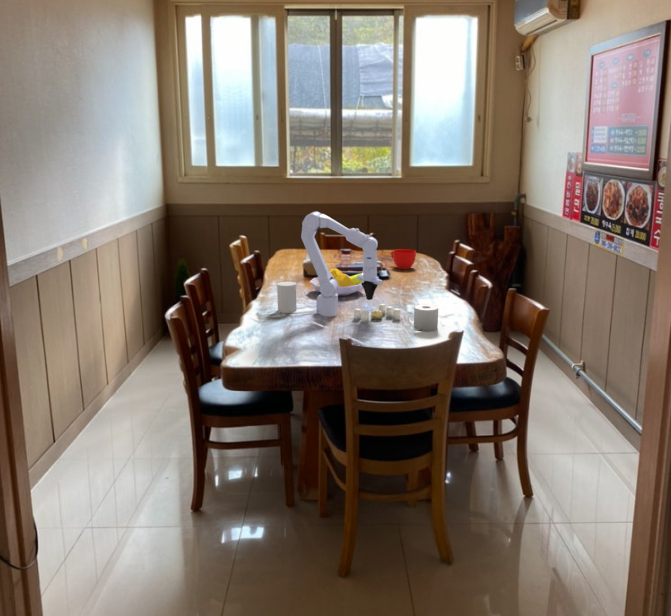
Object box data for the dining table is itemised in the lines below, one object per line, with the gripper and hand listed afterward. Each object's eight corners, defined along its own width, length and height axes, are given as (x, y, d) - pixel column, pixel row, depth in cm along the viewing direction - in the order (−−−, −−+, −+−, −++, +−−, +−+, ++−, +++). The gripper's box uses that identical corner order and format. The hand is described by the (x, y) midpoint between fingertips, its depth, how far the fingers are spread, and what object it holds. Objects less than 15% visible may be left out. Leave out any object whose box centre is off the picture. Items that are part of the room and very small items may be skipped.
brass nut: (368, 318, 266) (368, 311, 266) (377, 316, 269) (377, 309, 268) (375, 320, 263) (375, 313, 262) (384, 319, 265) (384, 311, 264)
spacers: (352, 318, 266) (352, 309, 265) (382, 312, 275) (382, 303, 274) (371, 325, 256) (371, 315, 255) (401, 319, 265) (402, 309, 264)
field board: (350, 320, 266) (350, 318, 266) (382, 314, 276) (382, 312, 276) (370, 327, 256) (370, 325, 256) (402, 320, 266) (402, 319, 265)
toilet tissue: (434, 322, 264) (434, 301, 262) (438, 331, 251) (439, 310, 249) (411, 322, 264) (412, 301, 262) (415, 331, 251) (416, 310, 249)
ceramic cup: (399, 264, 384) (399, 247, 381) (420, 268, 371) (420, 251, 369) (383, 266, 376) (383, 249, 373) (404, 271, 363) (404, 253, 361)
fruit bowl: (304, 297, 304) (303, 274, 301) (319, 285, 330) (319, 263, 327) (362, 301, 298) (362, 277, 295) (373, 288, 323) (373, 266, 320)
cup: (299, 308, 284) (298, 282, 281) (292, 313, 277) (292, 286, 274) (281, 307, 286) (281, 281, 283) (275, 312, 279) (274, 285, 276)
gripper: (388, 268, 261) (388, 301, 264) (366, 263, 272) (366, 294, 276) (375, 270, 257) (374, 303, 260) (353, 265, 269) (353, 296, 272)
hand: (369, 299), depth 268 cm, fingers closed
